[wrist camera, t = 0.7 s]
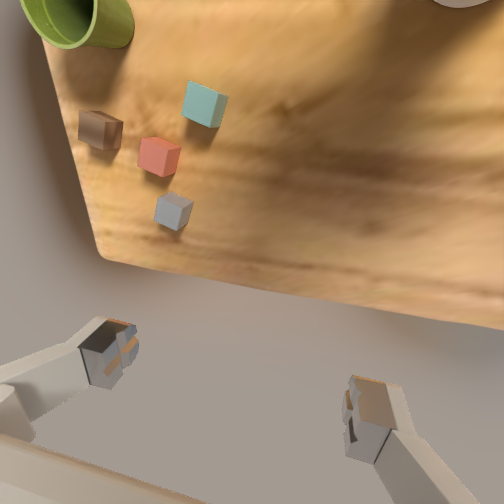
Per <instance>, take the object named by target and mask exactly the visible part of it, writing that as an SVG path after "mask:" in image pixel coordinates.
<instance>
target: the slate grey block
mask: <svg viewBox="0 0 504 504" xmlns="http://www.w3.org/2000/svg"><path fill="white" fill-rule="evenodd" d="M192 205H193V201H191V200H189V199H187V198H184V197H182V196H180V195H178V194H176V193H173V192H169V193H167V194H165V195H163V196H160V197H158V201H157V206H156V211H155V216H154V221H156V222H158V223H160V224H162V225H164V226H166V227H169V228H171V229H173V230H175V231H178V230H179V229H180V228H182V227H183V226H184V225H185V224H187V223H188V220H189V216H190V213H191V209H192Z"/></svg>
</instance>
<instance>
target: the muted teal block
mask: <svg viewBox="0 0 504 504" xmlns="http://www.w3.org/2000/svg"><path fill="white" fill-rule="evenodd" d="M227 99H228V96H227V95H224V94H222V93H220V92H218V91H215V90H213V89H211V88H208V87H206V86H204V85H202V84H198V83H195V82H192V81H189V80H188V85H187V90H186V94H185V99H184V104H183V108H182V113H181V115H182V116H184V117H186V118H189V119H191V120H193V121H195V122H198V123H200V124H202V125H204V126H207V127H209V128H213V127H220V124H221V121H222V117H223V114H224V110H225V106H226V103H227Z"/></svg>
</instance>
